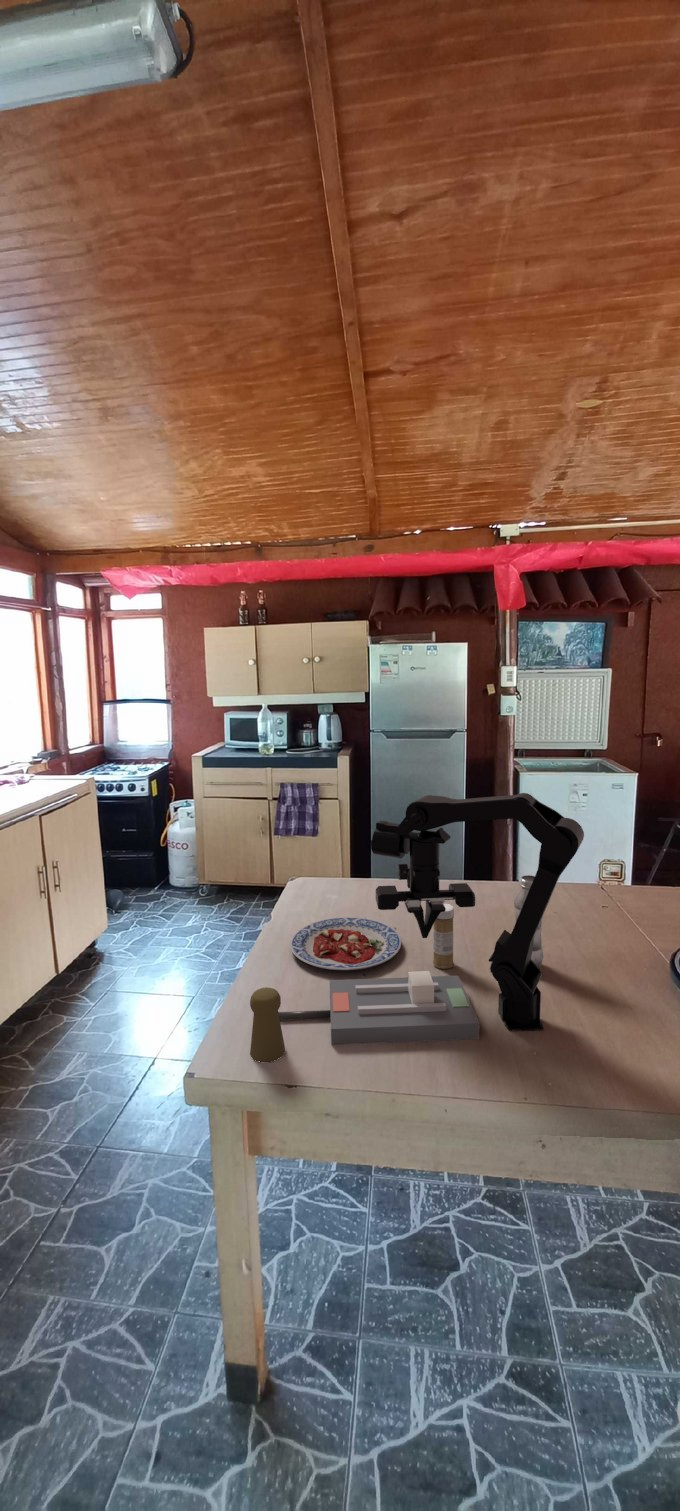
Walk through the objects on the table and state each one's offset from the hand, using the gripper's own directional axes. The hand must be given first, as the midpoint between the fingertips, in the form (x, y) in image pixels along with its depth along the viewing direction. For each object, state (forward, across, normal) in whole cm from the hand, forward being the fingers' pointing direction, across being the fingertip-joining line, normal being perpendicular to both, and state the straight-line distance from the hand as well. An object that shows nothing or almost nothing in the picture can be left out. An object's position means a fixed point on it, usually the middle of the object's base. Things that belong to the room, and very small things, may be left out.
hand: (424, 937), depth 116 cm
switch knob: (+9, +2, +7) cm, 11 cm away
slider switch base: (+12, +11, +7) cm, 18 cm away
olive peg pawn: (+12, +30, +16) cm, 36 cm away
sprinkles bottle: (+12, -6, -11) cm, 18 cm away
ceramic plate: (+12, +15, -20) cm, 28 cm away
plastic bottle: (+12, -24, -9) cm, 28 cm away
